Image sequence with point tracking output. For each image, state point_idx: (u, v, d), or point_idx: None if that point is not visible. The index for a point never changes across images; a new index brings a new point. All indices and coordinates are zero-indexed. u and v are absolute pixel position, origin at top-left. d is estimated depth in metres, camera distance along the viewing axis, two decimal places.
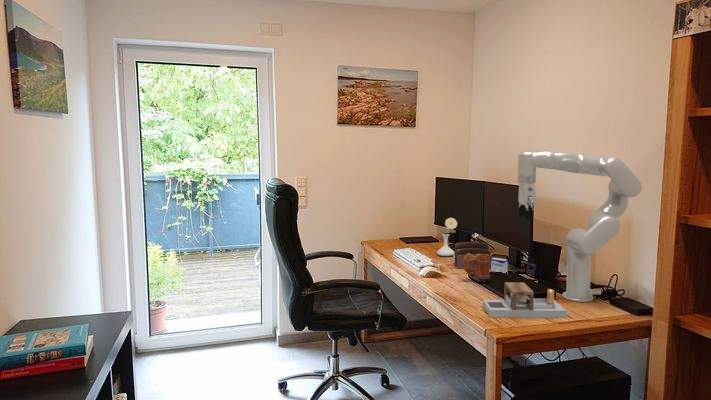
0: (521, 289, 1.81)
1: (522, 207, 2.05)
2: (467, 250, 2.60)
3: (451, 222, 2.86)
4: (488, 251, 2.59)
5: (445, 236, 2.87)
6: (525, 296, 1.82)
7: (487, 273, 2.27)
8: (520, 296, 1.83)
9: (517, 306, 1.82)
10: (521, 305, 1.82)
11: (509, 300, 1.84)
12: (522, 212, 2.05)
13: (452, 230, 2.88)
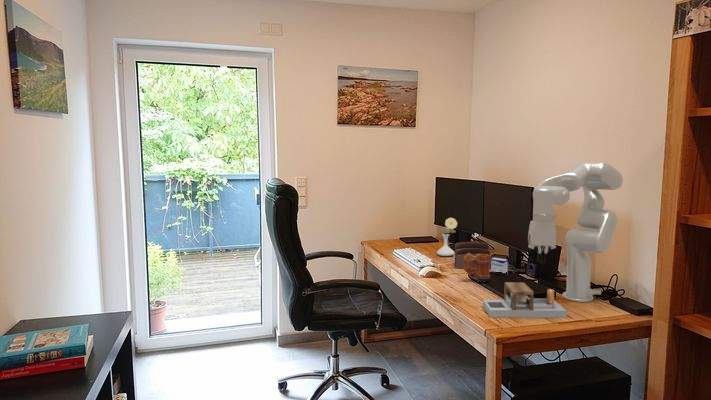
0: (521, 289, 1.81)
1: None
2: (467, 250, 2.60)
3: (451, 222, 2.86)
4: (488, 251, 2.58)
5: (445, 236, 2.87)
6: (525, 296, 1.82)
7: (487, 273, 2.27)
8: (520, 296, 1.83)
9: (517, 306, 1.82)
10: (521, 305, 1.82)
11: (509, 300, 1.84)
12: None
13: (452, 230, 2.88)
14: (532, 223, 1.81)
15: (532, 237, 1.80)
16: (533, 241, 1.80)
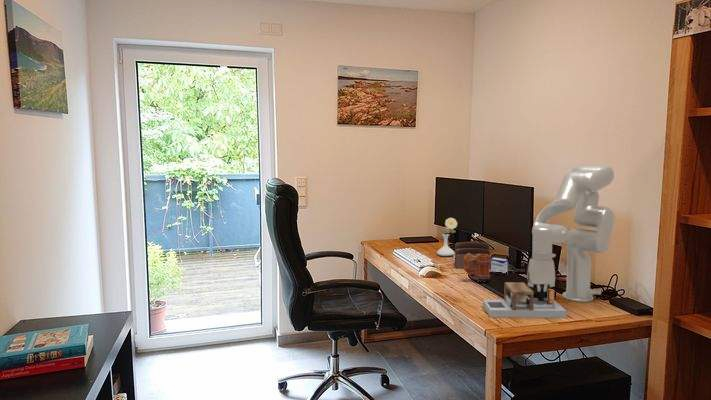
0: (521, 289, 1.81)
1: None
2: (467, 250, 2.60)
3: (451, 222, 2.86)
4: (488, 251, 2.58)
5: (445, 236, 2.87)
6: (525, 296, 1.82)
7: (487, 273, 2.27)
8: (520, 296, 1.83)
9: (517, 306, 1.82)
10: (521, 305, 1.82)
11: (509, 300, 1.84)
12: None
13: (452, 230, 2.88)
14: (531, 261, 1.82)
15: (531, 275, 1.82)
16: (532, 279, 1.82)
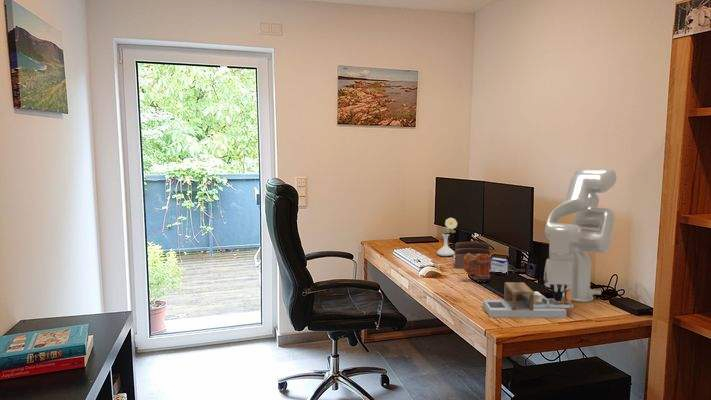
0: (521, 289, 1.81)
1: None
2: (466, 250, 2.61)
3: (451, 222, 2.86)
4: (488, 251, 2.58)
5: (445, 236, 2.87)
6: (540, 296, 1.82)
7: (487, 273, 2.27)
8: (535, 296, 1.82)
9: (534, 306, 1.81)
10: (538, 305, 1.81)
11: (526, 300, 1.83)
12: None
13: (452, 230, 2.88)
14: (548, 262, 1.82)
15: (548, 276, 1.82)
16: (549, 280, 1.82)
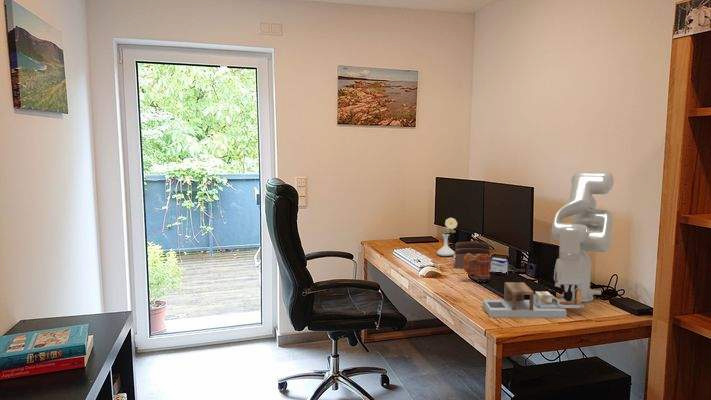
0: (521, 289, 1.81)
1: (567, 288, 1.83)
2: (466, 250, 2.61)
3: (451, 222, 2.86)
4: (488, 251, 2.58)
5: (445, 236, 2.87)
6: (550, 296, 1.82)
7: (487, 273, 2.27)
8: (545, 296, 1.82)
9: (545, 306, 1.81)
10: (549, 305, 1.81)
11: (536, 300, 1.83)
12: None
13: (452, 230, 2.88)
14: (558, 262, 1.82)
15: (559, 276, 1.81)
16: (560, 280, 1.81)
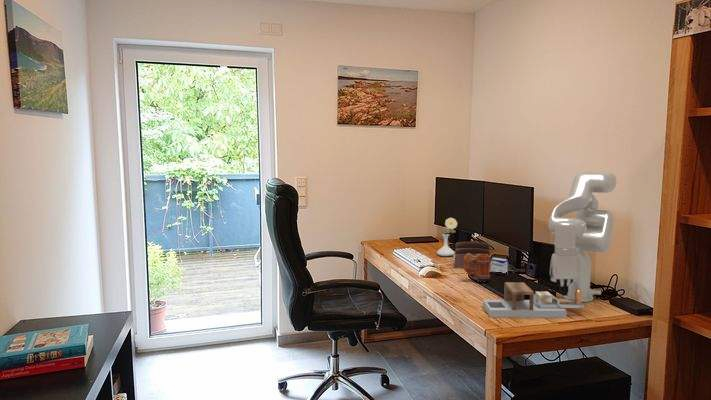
0: (521, 289, 1.81)
1: (563, 283, 1.84)
2: (466, 250, 2.61)
3: (451, 222, 2.86)
4: (488, 251, 2.58)
5: (445, 236, 2.87)
6: (551, 296, 1.82)
7: (487, 273, 2.27)
8: (546, 296, 1.82)
9: (545, 306, 1.81)
10: (549, 305, 1.81)
11: (536, 300, 1.83)
12: None
13: (452, 230, 2.88)
14: (554, 257, 1.82)
15: (554, 271, 1.82)
16: (555, 274, 1.82)
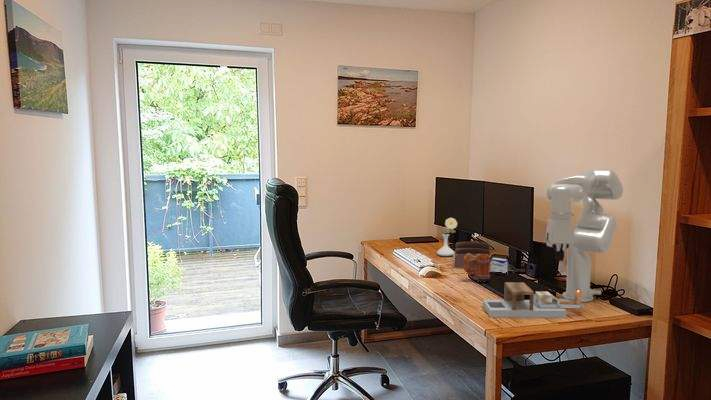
0: (521, 289, 1.81)
1: None
2: (466, 249, 2.61)
3: (451, 222, 2.86)
4: (488, 251, 2.58)
5: (445, 236, 2.87)
6: (551, 296, 1.82)
7: (487, 273, 2.27)
8: (546, 296, 1.82)
9: (545, 306, 1.81)
10: (549, 305, 1.81)
11: (536, 300, 1.83)
12: None
13: (452, 230, 2.88)
14: (550, 221, 1.82)
15: (551, 235, 1.82)
16: (552, 239, 1.82)
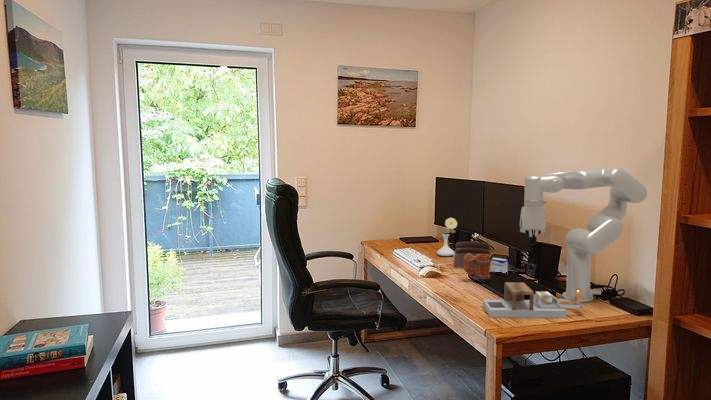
0: (521, 289, 1.81)
1: None
2: (466, 249, 2.61)
3: (451, 222, 2.86)
4: (487, 251, 2.58)
5: (445, 236, 2.87)
6: (551, 296, 1.82)
7: (487, 273, 2.27)
8: (546, 296, 1.82)
9: (545, 306, 1.81)
10: (549, 305, 1.81)
11: (536, 300, 1.83)
12: None
13: (452, 230, 2.88)
14: (523, 209, 1.95)
15: (523, 221, 1.95)
16: (524, 225, 1.95)
